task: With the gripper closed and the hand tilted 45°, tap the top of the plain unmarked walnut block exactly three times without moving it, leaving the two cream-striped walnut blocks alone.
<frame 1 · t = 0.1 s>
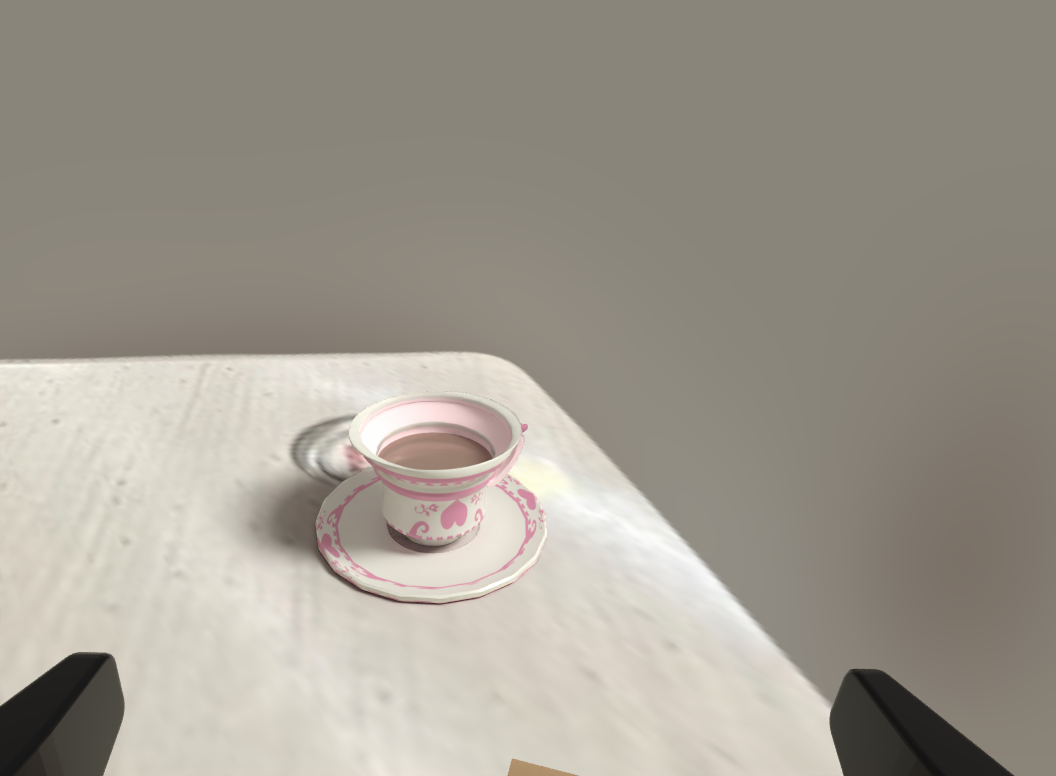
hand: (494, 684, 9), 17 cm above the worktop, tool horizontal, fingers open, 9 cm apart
teacup: (433, 529, 38), on the worktop
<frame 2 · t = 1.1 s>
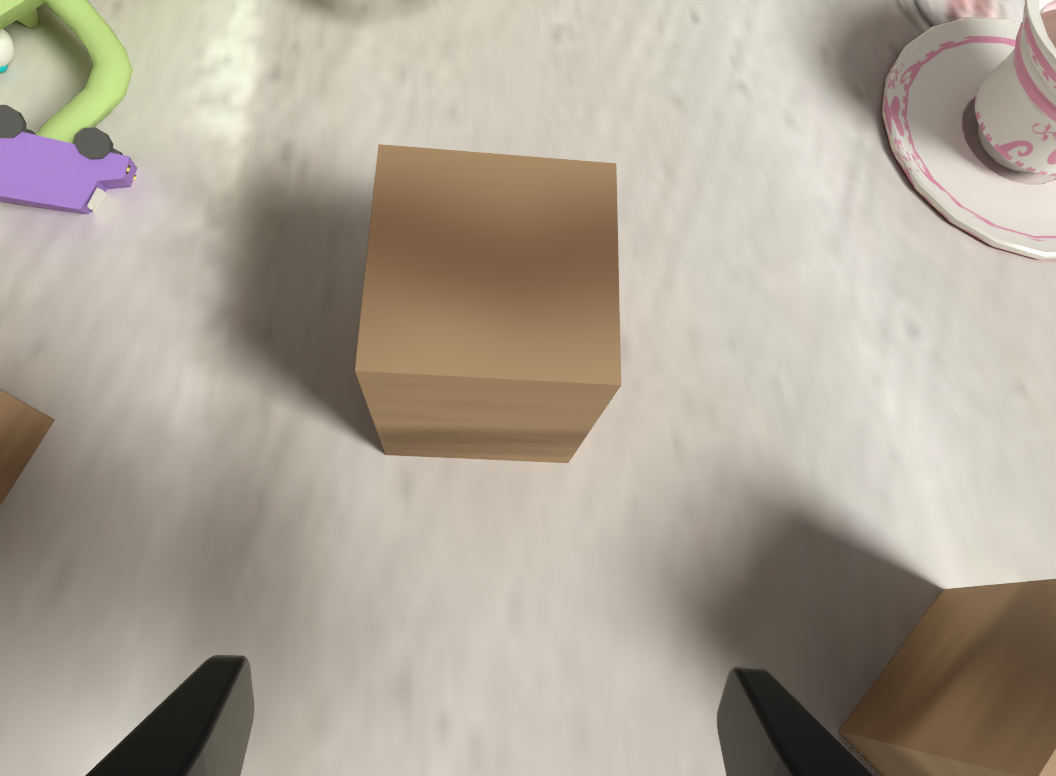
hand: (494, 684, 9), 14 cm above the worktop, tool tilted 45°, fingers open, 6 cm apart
teacup: (1009, 141, 31), on the worktop
striped block 1: (967, 730, 23), on the worktop
plain block: (481, 373, 25), on the worktop
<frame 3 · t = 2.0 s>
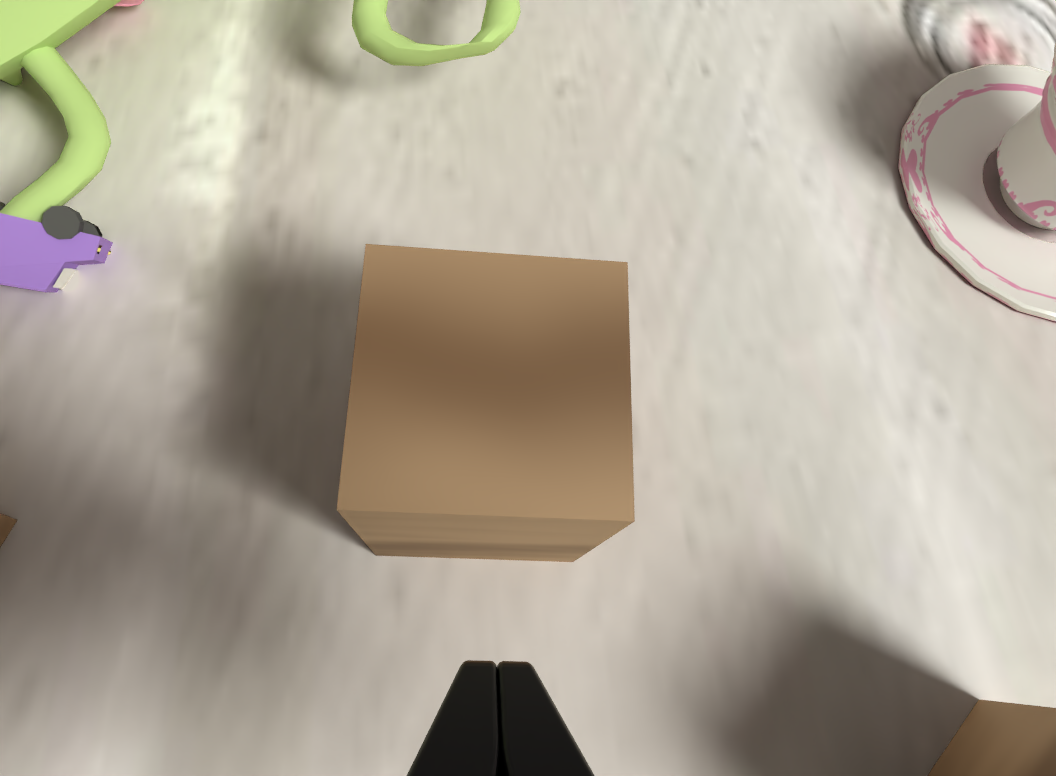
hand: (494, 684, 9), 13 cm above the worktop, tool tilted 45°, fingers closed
teacup: (1033, 195, 29), on the worktop
figurine: (182, 39, 28), on the worktop
plain block: (479, 462, 23), on the worktop
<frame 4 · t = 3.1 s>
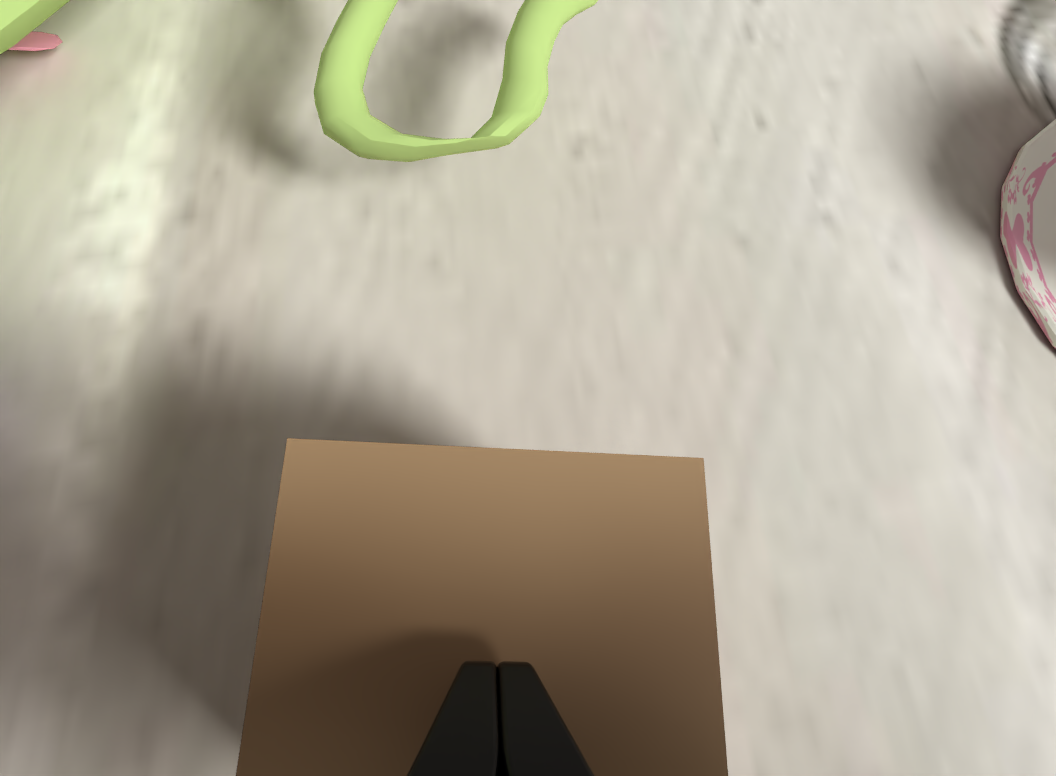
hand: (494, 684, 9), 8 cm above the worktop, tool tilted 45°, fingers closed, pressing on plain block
figurine: (113, 93, 22), on the worktop
plain block: (473, 677, 17), on the worktop, touching gripper
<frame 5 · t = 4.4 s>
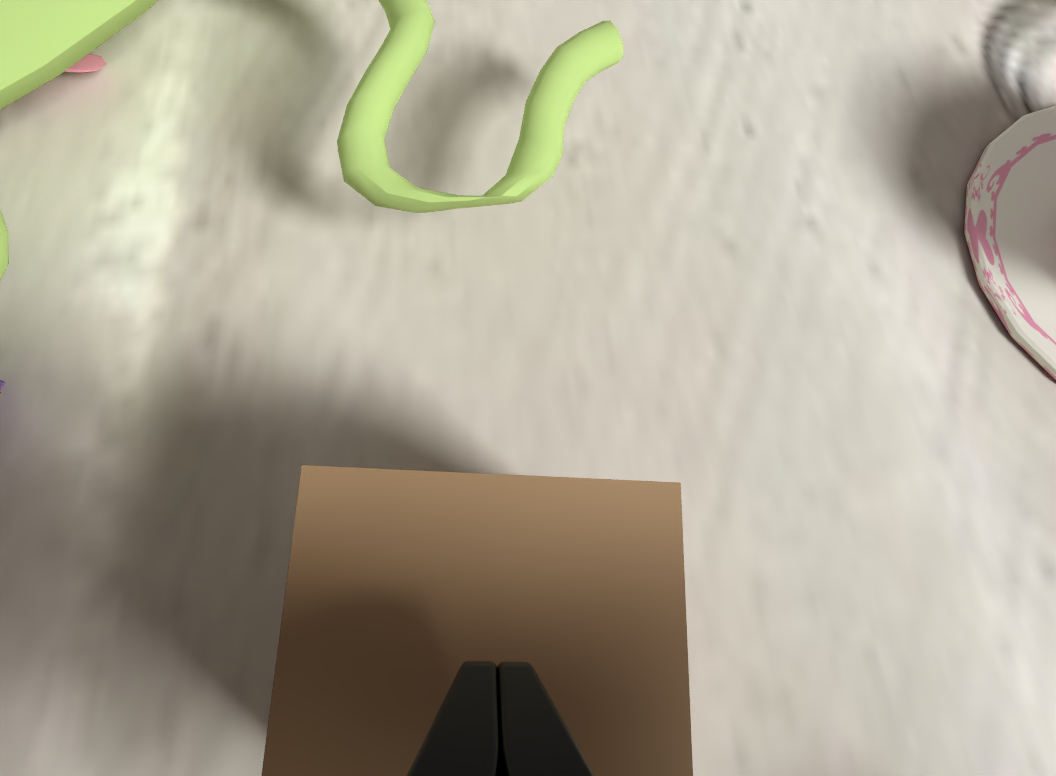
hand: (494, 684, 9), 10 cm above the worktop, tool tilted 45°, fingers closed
figurine: (151, 113, 23), on the worktop
plain block: (472, 658, 18), on the worktop
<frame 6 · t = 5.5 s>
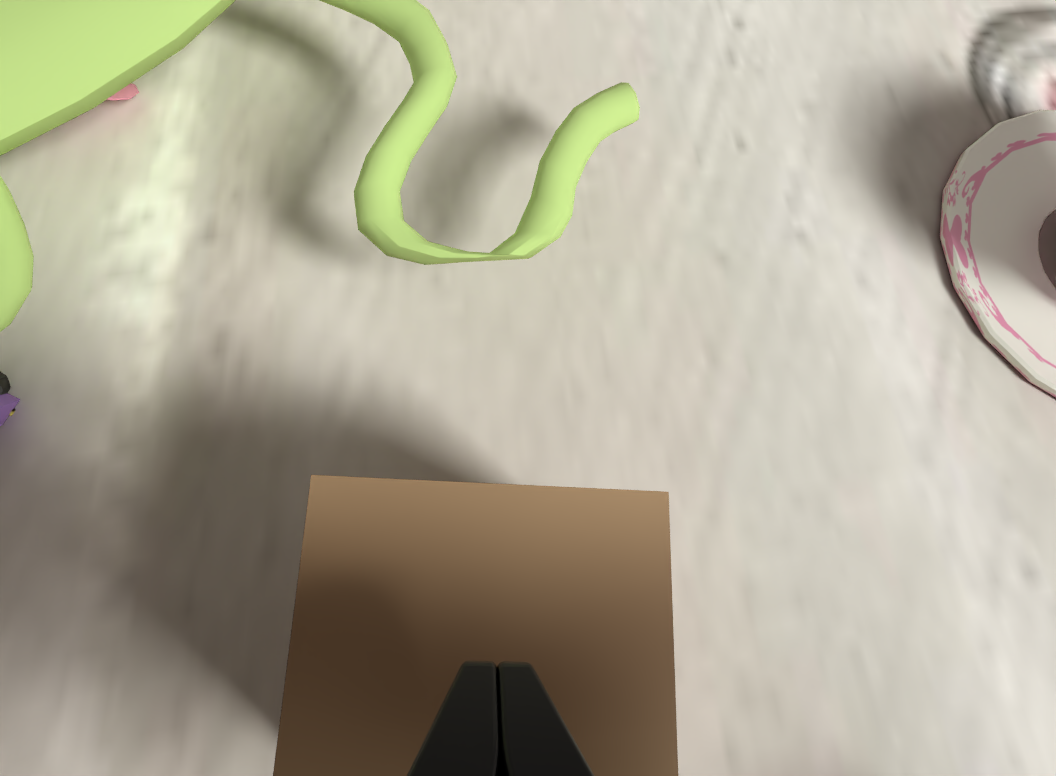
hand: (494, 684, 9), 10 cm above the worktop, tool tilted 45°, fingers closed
figurine: (179, 140, 23), on the worktop
plain block: (471, 657, 19), on the worktop
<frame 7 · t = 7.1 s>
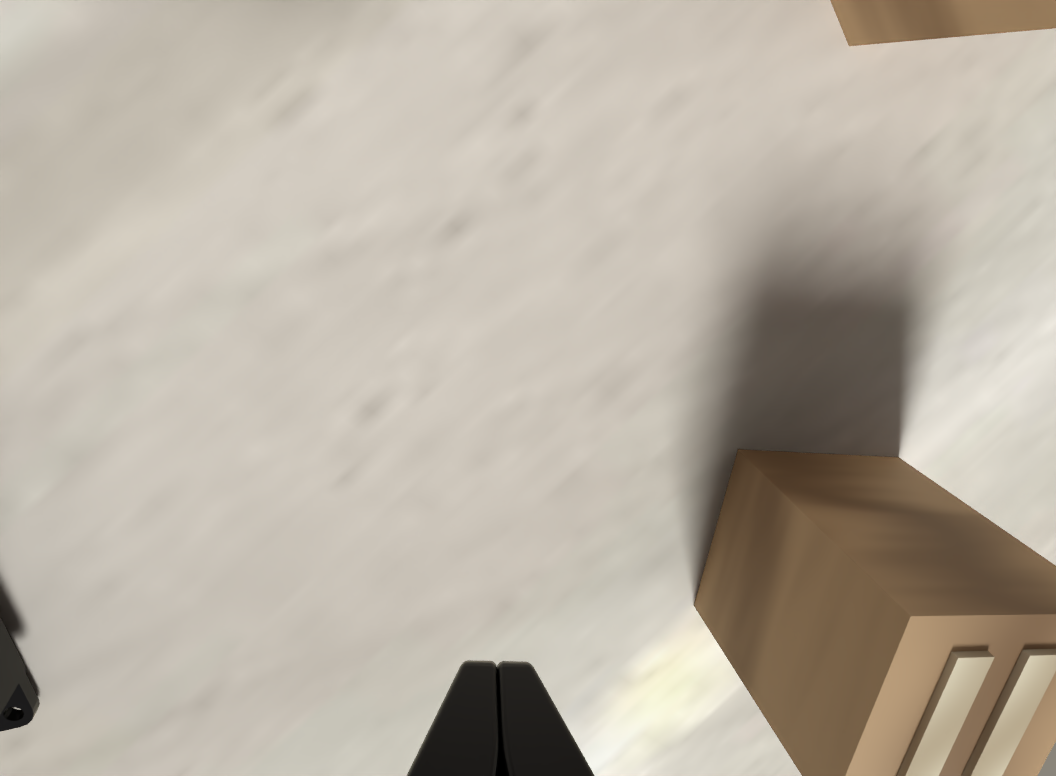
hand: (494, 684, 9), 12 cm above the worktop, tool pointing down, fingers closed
striped block 1: (794, 531, 25), on the worktop
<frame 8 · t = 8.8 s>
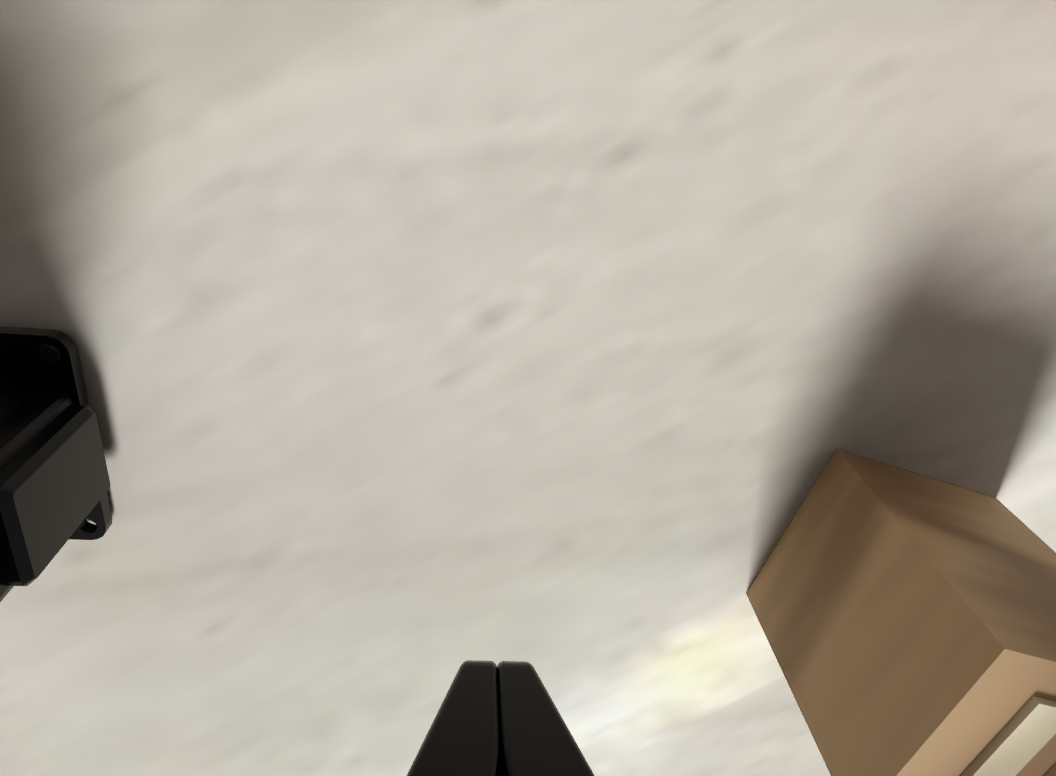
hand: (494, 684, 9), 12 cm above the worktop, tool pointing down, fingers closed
striped block 1: (867, 546, 24), on the worktop
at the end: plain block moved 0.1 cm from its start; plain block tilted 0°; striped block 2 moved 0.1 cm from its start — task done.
